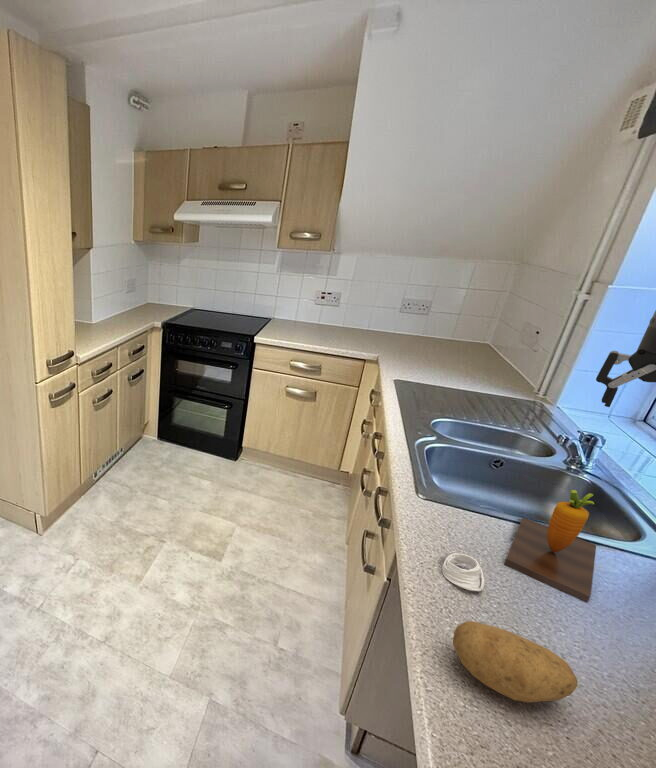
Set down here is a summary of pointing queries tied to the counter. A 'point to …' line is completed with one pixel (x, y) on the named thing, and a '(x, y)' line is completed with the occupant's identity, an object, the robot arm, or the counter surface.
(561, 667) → the potato
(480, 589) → the white string coil
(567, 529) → the carrot
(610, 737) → the counter surface
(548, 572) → the cutting board
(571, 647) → the counter surface
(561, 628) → the counter surface
